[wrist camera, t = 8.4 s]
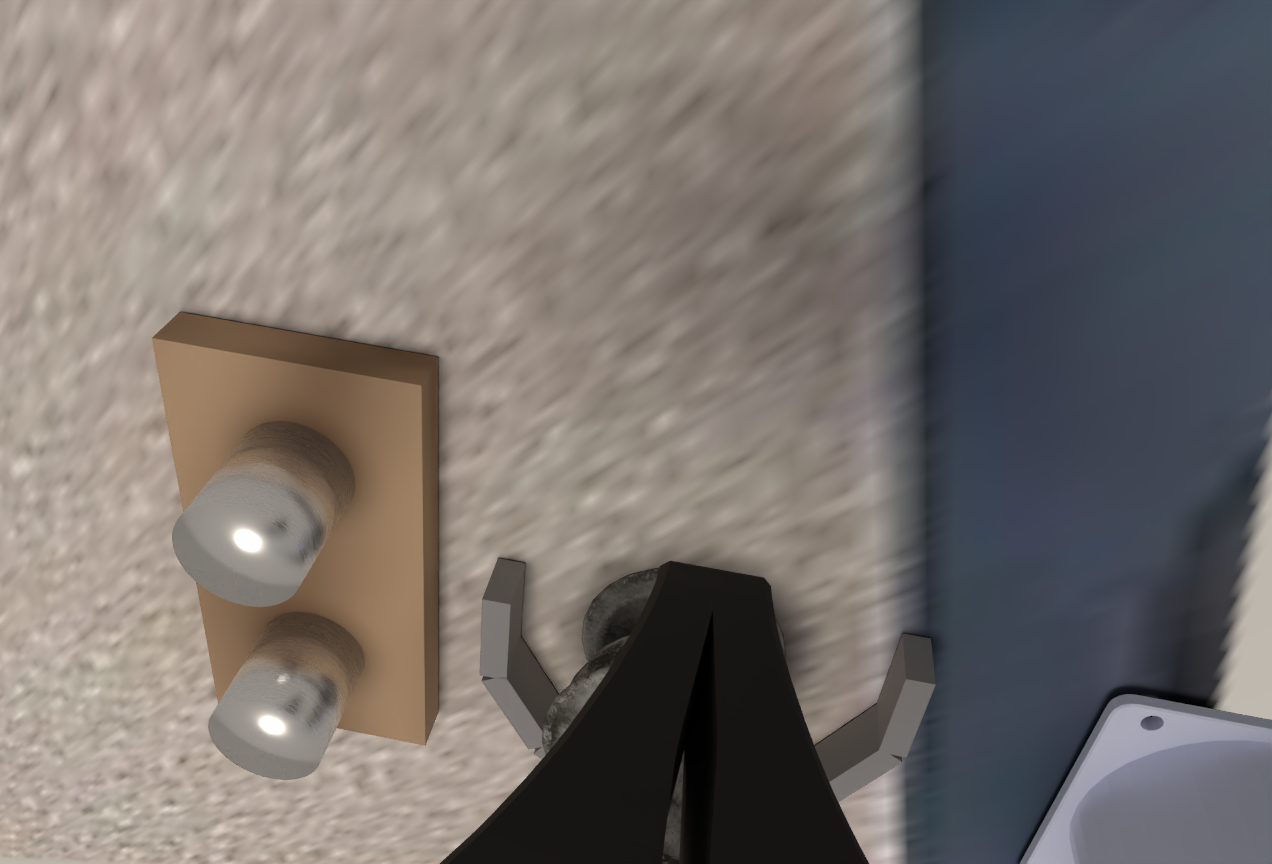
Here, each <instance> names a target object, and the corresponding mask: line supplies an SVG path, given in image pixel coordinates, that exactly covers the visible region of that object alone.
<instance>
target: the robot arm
mask: <svg viewBox="0 0 1272 864" xmlns="http://www.w3.org/2000/svg"><path fill="white" fill-rule="evenodd" d="M1149 716H1154V717H1151V718H1145V717H1149ZM683 753H684V765H683V786H682V808H681V831H680V853H679V864H869V863H868V861H867V859H866V857H865V855H864V853H863V851H862V850H861V848H860V846H859V844H858V842H857V840H856V838H855V836H854V834H853V832H852V830H851V828H850V826H849V824H848V822H847V820H846V818H845V816H844V814H843V811H842V809H841V807H840V805H839V803H838V801H837V798H836V796H835V794H834V792H833V790H832V787H831V785H830V783H829V780H828V778H827V776H826V773H825V771H824V768H823V766H822V764H821V761H820V759H819V756H818V754H817V751H816V749H815V746H814V744H813V741H812V738H811V736H810V733H809V730H808V728H807V725H806V722H805V720H804V717H803V714H802V711H801V708H800V705H799V702H798V699H797V696H796V693H795V690H794V687H793V684H792V681H791V677H790V674H789V671H788V667H787V664H786V660H785V656H784V653H783V649H782V645H781V641H780V637H779V633H778V628H777V624H776V619H775V614H774V608H773V602H772V595H771V586H770V585H769V583H768V582H767V581H766V580H765V578H763V577H757V576H752V575H746V574H740V573H735V572H729V571H724V570H718V569H712V568H707V567H701V566H696V565H690V564H684V563H679V562H673V561H669V562H667V563H665V564H663V565H661V566H660V568H659V572H658V576H657V579H656V582H655V584H654V587H653V589H652V592H651V594H650V597H649V599H648V601H647V603H646V605H645V607H644V609H643V611H642V613H641V615H640V617H639V619H638V621H637V623H636V625H635V627H634V628H633V630H632V632H631V634H630V636H629V637H628V639H627V641H626V642H625V644H624V646H623V647H622V649H621V651H620V652H619V654H618V655H617V657H616V659H615V660H614V662H613V664H612V665H611V667H610V668H609V670H608V672H607V673H606V675H605V676H604V678H603V679H602V681H601V682H600V684H599V685H598V687H597V688H596V689H595V691H594V692H593V694H592V695H591V696H590V698H589V699H588V701H587V702H586V703H585V705H584V706H583V708H582V709H581V710H580V712H579V713H578V714H577V716H576V717H575V719H574V720H573V721H572V723H571V724H570V725H569V727H568V728H567V729H566V731H565V732H564V733H563V734H562V736H561V737H560V738H559V739H558V741H557V742H556V743H555V744H554V746H553V747H552V748H551V749H550V751H549V752H548V753H547V754H546V755H545V757H544V758H543V759H542V760H541V761H540V762H539V764H538V765H537V766H536V767H535V768H534V769H533V771H532V772H531V773H530V774H529V775H528V776H527V777H526V779H525V780H524V781H523V782H522V783H521V784H520V785H519V786H518V787H517V788H516V789H515V790H514V791H513V793H512V794H511V795H510V796H509V797H508V798H507V799H506V800H505V801H504V802H503V803H502V804H501V805H500V806H499V807H498V809H497V810H496V811H495V812H494V813H493V814H492V815H491V816H490V817H489V818H488V819H487V820H486V821H485V822H484V823H483V824H482V825H481V826H480V827H479V828H478V829H477V830H476V831H475V832H474V833H473V834H472V835H471V836H470V837H468V838H467V839H466V840H465V841H464V842H463V843H462V844H461V845H460V846H459V847H457V848H456V849H455V850H454V851H453V852H452V853H451V854H450V855H449V856H448V857H446V858H445V859H444V860H443V861H442V862H441V863H440V864H662V857H663V849H664V841H665V833H666V825H667V818H668V814H669V810H670V806H671V802H672V798H673V794H674V790H675V786H676V781H677V777H678V773H679V769H680V765H681V761H682V757H683ZM1020 864H1272V720H1269V719H1263V718H1258V717H1253V716H1247V715H1242V714H1236V713H1231V712H1226V711H1220V710H1215V709H1210V708H1204V707H1199V706H1194V705H1188V704H1183V703H1178V702H1172V701H1167V700H1162V699H1156V698H1151V697H1146V696H1140V695H1135V694H1125V695H1120V696H1117V697H1116V698H1114V699H1112V700H1111V701H1110V702H1109V703H1108V704H1107V706H1106V708H1105V710H1104V711H1103V713H1102V715H1101V717H1100V719H1099V721H1098V722H1097V724H1096V726H1095V728H1094V730H1093V731H1092V733H1091V735H1090V737H1089V739H1088V740H1087V742H1086V744H1085V746H1084V748H1083V750H1082V751H1081V753H1080V755H1079V757H1078V759H1077V760H1076V762H1075V764H1074V766H1073V768H1072V770H1071V771H1070V773H1069V775H1068V777H1067V779H1066V780H1065V782H1064V784H1063V786H1062V788H1061V789H1060V791H1059V793H1058V795H1057V797H1056V799H1055V800H1054V802H1053V804H1052V806H1051V808H1050V809H1049V811H1048V813H1047V815H1046V817H1045V818H1044V820H1043V822H1042V824H1041V826H1040V828H1039V829H1038V831H1037V833H1036V835H1035V837H1034V838H1033V840H1032V842H1031V844H1030V846H1029V848H1028V849H1027V851H1026V853H1025V855H1024V857H1023V858H1022V860H1021V862H1020Z"/></svg>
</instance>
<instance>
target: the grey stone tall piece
mask: <svg viewBox="0 0 1272 864" xmlns="http://www.w3.org/2000/svg"><path fill="white" fill-rule="evenodd" d="M658 572H659V569H652V570H647V571H643V572H639V573H634V574H630V575H628V576H626V577H624V578H622V579H620V580H618V581H616V582H614V583H612V584H610V585H609V586H608V587H607V588H605V589H604V590H603V591H602V592H601V593H600V594H599V595H598V596H597V597H596V598H595V599H594V600H593V602H592V604H591V606H590V608H589V610H588V611H587V613H586V615H585V618H584V623H583V632H582V642H583V646H584V650H585V654H586V658H587V660H588V662H587V663H586V664H585V665H584V666H583V668H582V669H581V670H580V671H579V672H578V673H577V674H576V675H575V676H574V678H573V680H572V682H571V684H570V685H569V686H568V687H567V688H566V689H564V690H563V691H562V692H561V693H560V694H559V695H558V696H556V697H555V699H554V701H553V702H552V704H551V706H550V708H549V710H548V712H547V714H546V716H545V718H544V722H543V733H542V745H543V748H544V751H545V755H546V754H547V753H548V752H549V751H550V749H551V748H552V747H553V746H554V744H555V743H556V742H557V741H558V739H559V738H560V737H561V736H562V734H563V733H564V732H565V731H566V729H567V728H568V727H569V725H570V724H571V723H572V721H573V720H574V719H575V717H576V716H577V714H578V713H579V712H580V710H581V709H582V708H583V706H584V705H585V703H586V702H587V701H588V699H589V698H590V696H591V695H592V694H593V692H594V691H595V689H596V688H597V687H598V685H599V684H600V682H601V681H602V679H603V678H604V676H605V675H606V673H607V672H608V670H609V668H610V667H611V665H612V664H613V662H614V660H615V659H616V657H617V655H618V654H619V652H620V651H621V649H622V647H623V646H624V644H625V642H626V641H627V639H628V637H629V636H630V634H631V632H632V630H633V628H634V627H635V625H636V623H637V621H638V619H639V617H640V615H641V613H642V611H643V609H644V607H645V605H646V603H647V601H648V599H649V597H650V594H651V592H652V589H653V587H654V584H655V582H656V579H657V576H658ZM776 624H777V628H778V633H779V637H780V641H781V645H782V649H783V653H784V656H785V645H784V636H783V633H782V631H781V629H780V627H779V625H778V623H777V621H776ZM683 765H684V753H683V757H682V761H681V765H680V769H679V773H678V777H677V781H676V786H675V790H674V794H673V798H672V802H671V806H670V810H669V814H668V818H667V825H666V833H665V841H664V849H663V857H662V864H679V853H680V831H681V808H682V786H683Z"/></svg>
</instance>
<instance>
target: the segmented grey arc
mask: <svg viewBox="0 0 1272 864" xmlns="http://www.w3.org/2000/svg"><path fill="white" fill-rule="evenodd" d="M524 576H525V563H521V562H516V561H511V560H505V559H500V558H498V560H497V562H496V565H495V568H494V570H493V573H492V575H491V578H490V581H489V583H488V586H487V588H486V591H485V593H484V596H483V599H482V621H481V651H480V675H481V676H483V679H482V682H483V684H484V685H485V687H486V688H487V690H488V691H489V693H490V694H491V695H492V697H493V698H494V700H495V701H496V703H497V704H498V706H499V707H500V709H501V710H502V711H503V713H504V714H505V716H506V717H507V719H508V720H509V722H510V723H511V724H512V726H513V727H514V729H515V730H516V732H517V733H518V735H519V736H520V738H521V739H522V740H523V742H524V743H525V745H526V746H527V748H528V749H533V748H535V751H534V754H535V755H536V756H538V757H540V758H542V759H543V758H544V757H545V751H544V748H543V745H542V733H543V722H544V718H545V716H546V714H547V712H548V710H549V708H550V706H551V704H552V702H553V701H554V699H555V697H556V696H558V693H557V692H556V690H555V689H554V687H553V685H552V684H551V682H550V681H549V679H548V678H547V676H546V675H545V673H544V672H543V670H542V668H541V667H540V665H539V664H538V662H537V661H536V659H535V658H534V656H533V654H532V653H531V651H530V650H529V648H528V647H527V645H526V644H525V642H524V640H523V639H522V637H521V622H522V607H523V591H524ZM935 685H936V683H935V673H934V664H933V654H932V645H931V639H930V638H925V637H920V636H914V635H909V634H904V633H902V636H901V639H900V641H899V644H898V647H897V650H896V652H895V655H894V658H893V661H892V663H891V666H890V669H889V672H888V675H887V677H886V680H885V683H884V686H883V688H882V691H881V694H880V697H879V699H878V702H877V704H876V705H874V706H873V707H871V708H870V709H868V710H867V711H865V712H864V713H863V714H861V715H860V716H858V717H857V718H855V719H854V720H852V721H851V722H849V723H848V724H846V725H845V726H843V727H842V728H840V729H839V730H837V731H836V732H834V733H833V734H832V735H830V736H829V737H827V738H826V739H824V740H823V741H821V742H820V743H818V744H817V745H815V749H816V751H817V754H818V756H819V759H820V761H821V764H822V766H823V768H824V771H825V773H826V776H827V778H828V780H829V783H830V785H831V787H832V790H833V792H834V794H835V796H836V798H837V801H838V802H839V801H841V800H843V799H844V798H846V797H847V796H849V795H851V794H852V793H854V792H855V791H857V790H859V789H860V788H862V787H863V786H865V785H867V784H868V783H870V782H871V781H873V780H875V779H876V778H878V777H879V776H881V775H883V774H884V773H886V772H887V771H889V770H891V769H892V768H894V767H895V766H897V765H899V764H900V763H902V757H907V755H908V752H909V750H910V747H911V745H912V742H913V740H914V737H915V735H916V732H917V730H918V727H919V725H920V722H921V720H922V717H923V715H924V713H925V710H926V708H927V705H928V703H929V700H930V698H931V695H932V693H933V690H934V688H935Z"/></svg>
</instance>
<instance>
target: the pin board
mask: <svg viewBox="0 0 1272 864" xmlns="http://www.w3.org/2000/svg"><path fill="white" fill-rule="evenodd" d="M152 341H153V346H154V352H155V357H156V363H157V368H158V374H159V379H160V385H161V391H162V396H163V402H164V407H165V413H166V418H167V424H168V429H169V435H170V440H171V446H172V451H173V457H174V462H175V468H176V473H177V479H178V484H179V490H180V495H181V501H182V506H183V512H184V513H183V514H182V515H181V516H180V518H179V519H178V520H177V522H176V524H175V526H174V529H173V533H172V542H173V547H174V551H175V554H176V556H177V558H178V560H179V562H180V563H181V565H182V566H183V568H184V569H185V571H186V572H187V573H188V574H189V575H190V576H191V577H192V578H193V579H194V580H195V581H196V584H197V589H198V595H199V600H200V606H201V611H202V617H203V622H204V628H205V633H206V639H207V644H208V650H209V655H210V661H211V666H212V672H213V677H214V683H215V689H216V694H217V700H218V705H217V707H216V709H215V710H214V712H213V714H212V715H211V717H210V719H209V724H208V728H209V733H210V736H211V739H212V741H213V742H214V744H215V746H216V747H217V748H218V749H219V751H220V752H221V753H222V754H223V755H224V756H226V757H227V758H228V759H229V760H230V761H232V762H233V763H235V764H236V765H238V766H240V767H241V768H243V769H245V770H247V771H249V772H252V773H254V774H257V775H260V776H263V777H267V778H272V779H281V780H291V779H298V778H302V777H305V776H307V775H309V774H311V773H312V772H313V771H315V770H316V768H317V767H318V765H319V763H320V761H321V759H322V757H323V755H324V753H325V751H326V749H327V746H328V744H329V742H330V740H331V738H332V736H333V734H334V732H335V730H336V728H339V729H344V730H350V731H355V732H360V733H365V734H370V735H375V736H380V737H385V738H390V739H395V740H400V741H405V742H410V743H415V744H420V745H426V743H427V740H428V737H429V735H430V732H431V730H432V727H433V724H434V722H435V719H436V717H437V714H438V357H435V356H429V355H423V354H417V353H412V352H406V351H400V350H394V349H389V348H383V347H377V346H372V345H366V344H360V343H354V342H349V341H343V340H337V339H331V338H326V337H320V336H314V335H309V334H303V333H297V332H291V331H286V330H280V329H274V328H269V327H263V326H257V325H251V324H246V323H240V322H234V321H228V320H223V319H217V318H211V317H206V316H200V315H194V314H188V313H183V312H179V313H178V314H177V315H176V316H175V317H174V318H173V319H172V320H171V321H170V322H169V323H167V324H166V325H165V326H164V327H163V328H162V329H161V330H160V331H159V332H158V333H157V334H156V335H155V336H154V337H153V338H152Z"/></svg>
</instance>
